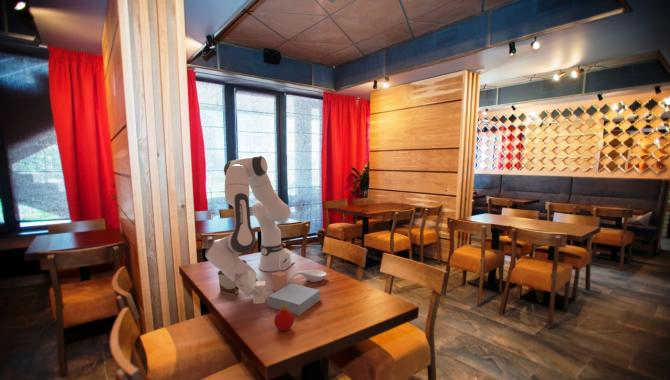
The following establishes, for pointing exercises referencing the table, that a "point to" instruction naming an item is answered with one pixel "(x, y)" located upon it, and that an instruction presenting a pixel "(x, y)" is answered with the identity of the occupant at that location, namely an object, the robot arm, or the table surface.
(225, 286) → the food container
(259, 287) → the off-white column
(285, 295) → the slate plinth block
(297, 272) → the spoon rest
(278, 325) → the christmas ornament
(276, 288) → the terracotta column
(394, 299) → the table surface
